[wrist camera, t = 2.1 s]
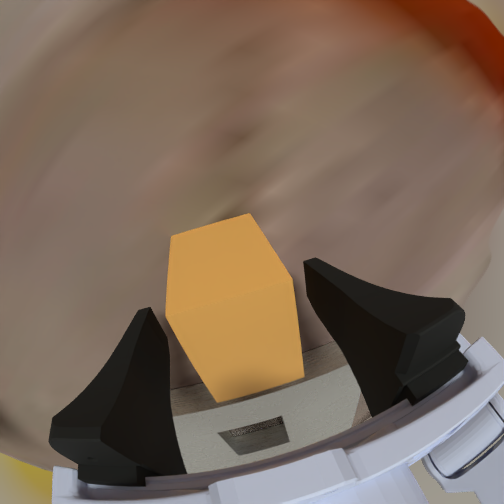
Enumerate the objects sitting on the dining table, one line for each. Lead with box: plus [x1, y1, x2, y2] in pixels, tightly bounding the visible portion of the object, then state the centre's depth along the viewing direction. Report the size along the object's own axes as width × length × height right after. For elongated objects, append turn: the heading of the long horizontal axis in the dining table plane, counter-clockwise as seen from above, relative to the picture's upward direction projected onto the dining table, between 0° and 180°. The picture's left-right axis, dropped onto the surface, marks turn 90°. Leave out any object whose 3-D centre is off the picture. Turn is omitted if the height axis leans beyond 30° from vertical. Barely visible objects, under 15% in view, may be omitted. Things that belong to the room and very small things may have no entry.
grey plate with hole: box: [170, 341, 361, 474], centre depth 22 cm, size 20×16×2 cm
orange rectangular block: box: [166, 213, 304, 403], centre depth 12 cm, size 4×6×6 cm
